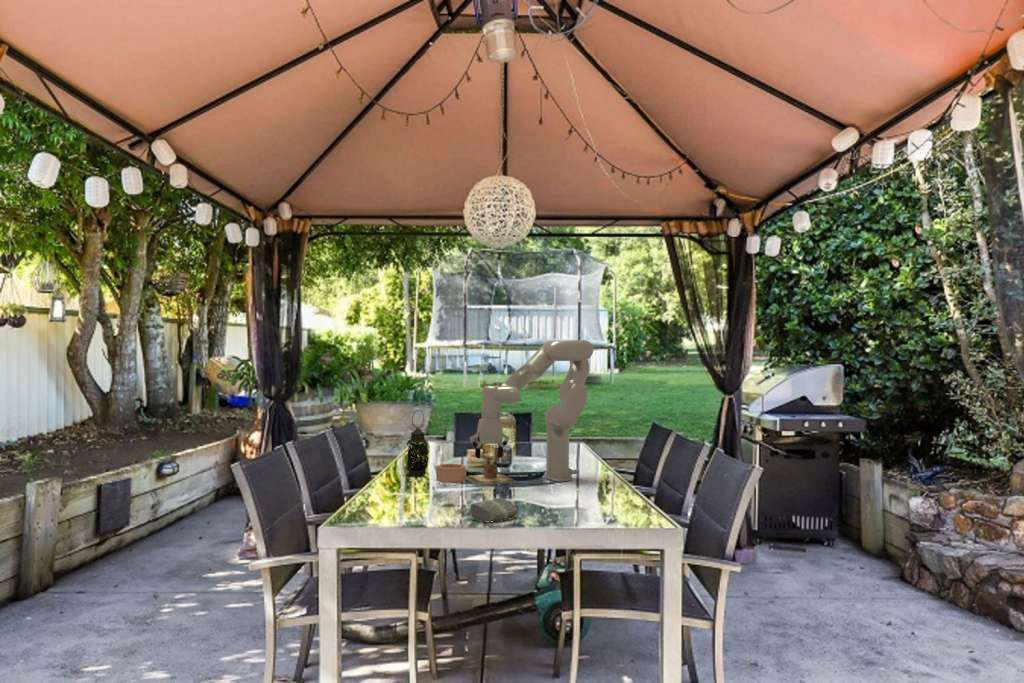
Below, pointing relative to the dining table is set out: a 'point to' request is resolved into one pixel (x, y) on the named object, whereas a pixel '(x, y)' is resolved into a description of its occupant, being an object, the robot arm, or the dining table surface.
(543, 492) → the dining table surface
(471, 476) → the lid
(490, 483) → the mat
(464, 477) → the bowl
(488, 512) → the decorative stone
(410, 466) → the lantern
